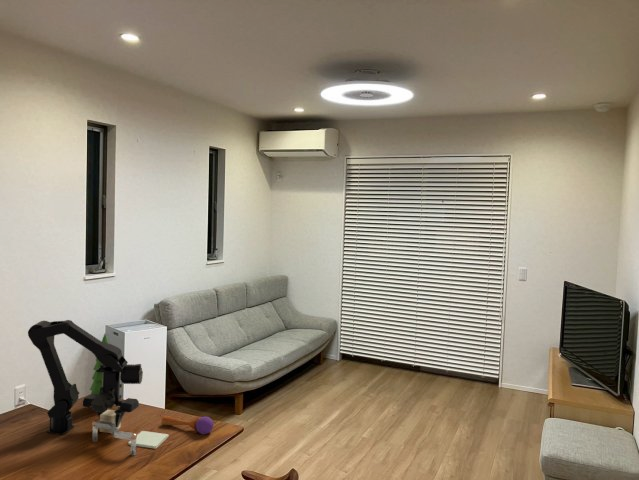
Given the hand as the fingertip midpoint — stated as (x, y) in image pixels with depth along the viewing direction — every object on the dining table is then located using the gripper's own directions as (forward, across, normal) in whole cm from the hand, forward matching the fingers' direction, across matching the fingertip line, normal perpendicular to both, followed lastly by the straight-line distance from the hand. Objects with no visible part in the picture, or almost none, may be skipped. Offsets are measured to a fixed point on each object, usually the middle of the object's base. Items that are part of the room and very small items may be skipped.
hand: (110, 426), depth 181 cm
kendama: (+2, +26, +8) cm, 27 cm away
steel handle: (+1, +8, -11) cm, 14 cm away
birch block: (+1, 0, 0) cm, 1 cm away
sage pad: (+1, +17, -4) cm, 18 cm away
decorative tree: (+1, -14, +17) cm, 22 cm away
